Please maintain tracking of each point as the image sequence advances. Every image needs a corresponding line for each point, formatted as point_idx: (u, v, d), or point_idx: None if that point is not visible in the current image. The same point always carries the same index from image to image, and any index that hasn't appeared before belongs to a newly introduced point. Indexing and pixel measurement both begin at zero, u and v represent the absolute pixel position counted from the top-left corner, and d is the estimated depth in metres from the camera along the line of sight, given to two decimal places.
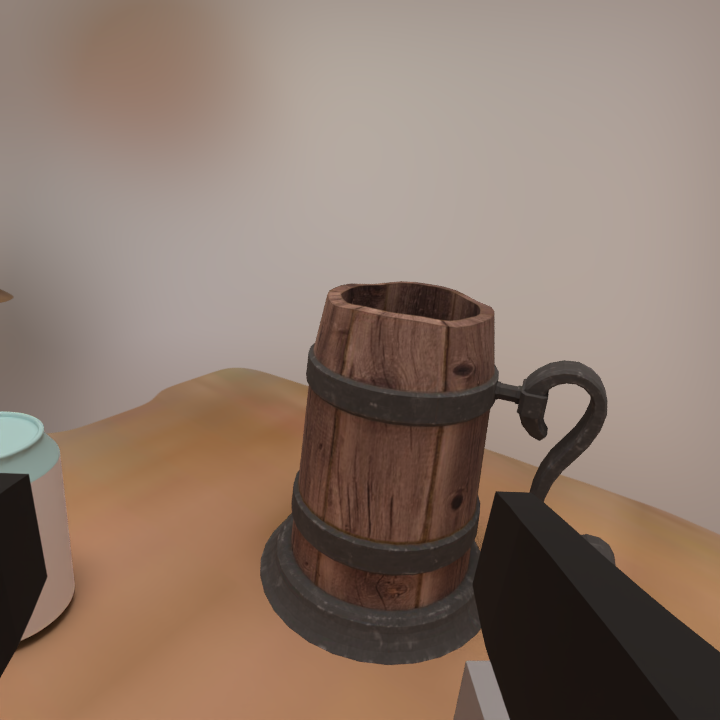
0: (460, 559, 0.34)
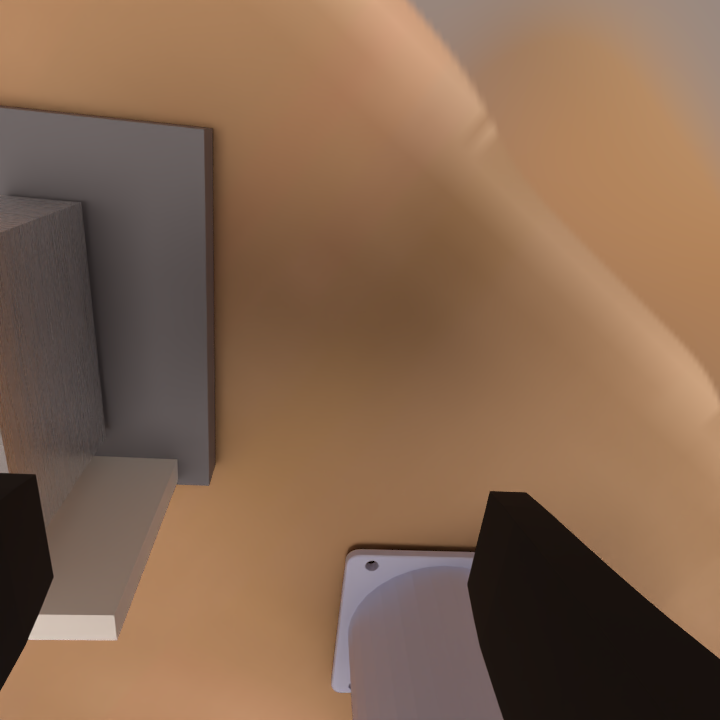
0: None
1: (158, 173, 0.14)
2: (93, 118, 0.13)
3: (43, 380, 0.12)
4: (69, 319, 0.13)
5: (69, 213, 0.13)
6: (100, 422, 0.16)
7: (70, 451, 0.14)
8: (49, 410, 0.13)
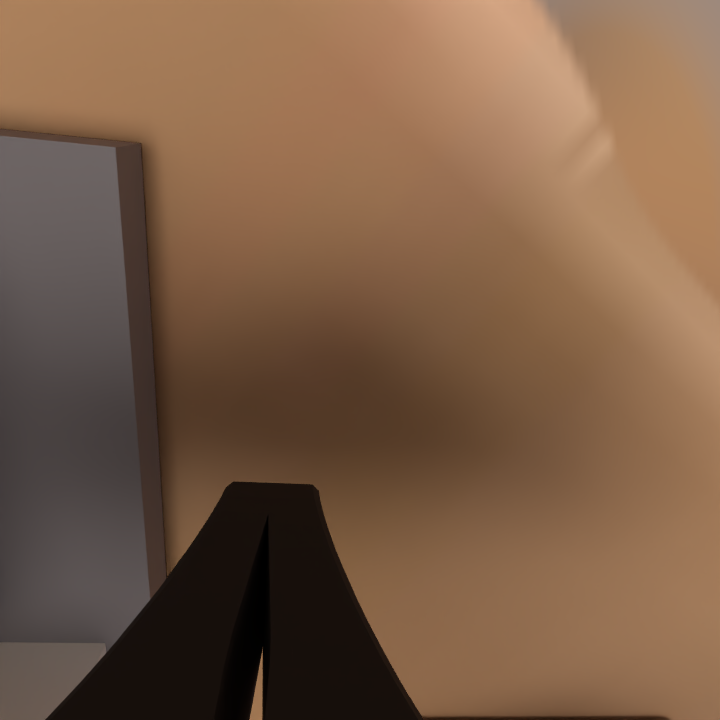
0: None
1: (39, 223, 0.08)
2: None
3: None
4: None
5: None
6: None
7: None
8: None
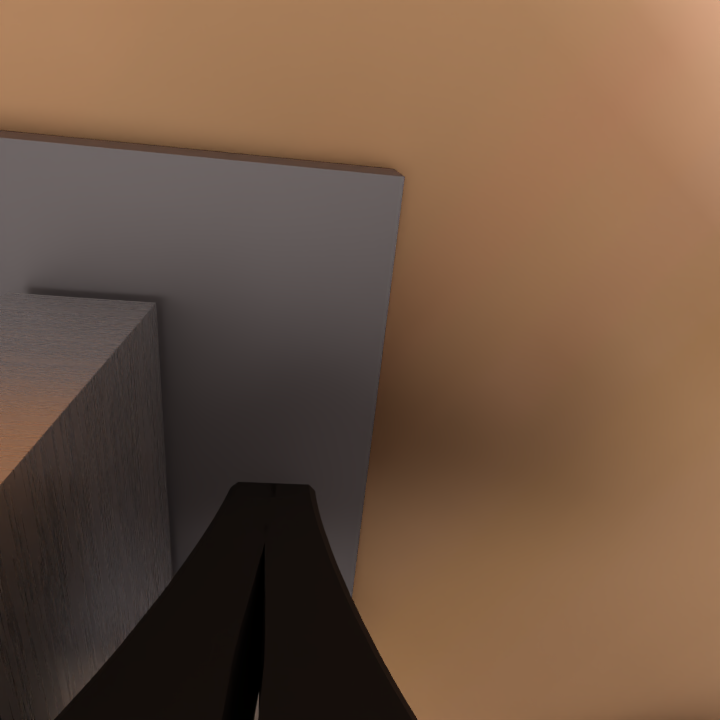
0: None
1: (317, 251, 0.08)
2: (213, 159, 0.07)
3: None
4: (138, 515, 0.08)
5: (141, 331, 0.07)
6: None
7: None
8: None
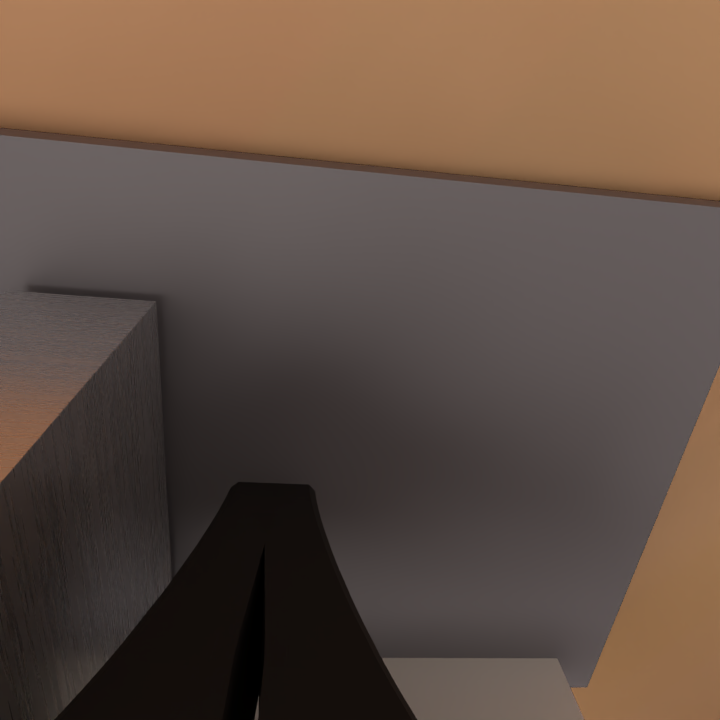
0: None
1: (685, 281, 0.09)
2: (616, 198, 0.08)
3: (100, 666, 0.06)
4: (137, 514, 0.07)
5: (141, 330, 0.07)
6: None
7: None
8: None
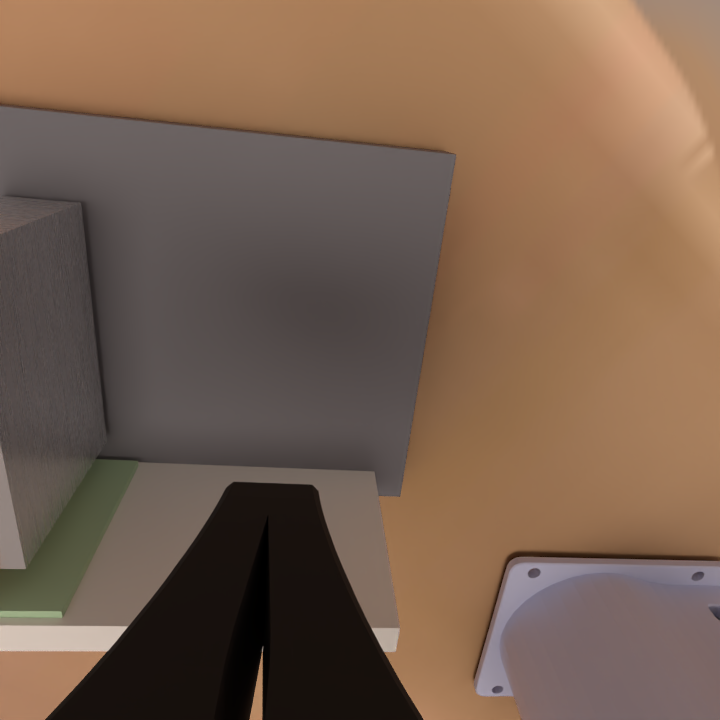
0: None
1: (405, 196, 0.14)
2: (353, 144, 0.14)
3: (43, 385, 0.12)
4: (69, 322, 0.13)
5: (69, 214, 0.13)
6: (101, 426, 0.16)
7: (71, 457, 0.14)
8: (49, 416, 0.12)
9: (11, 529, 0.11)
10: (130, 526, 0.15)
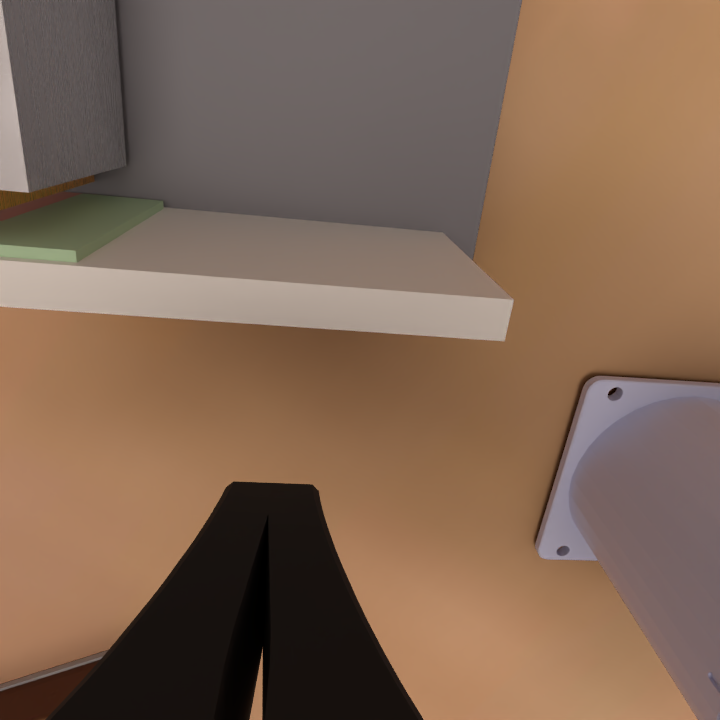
0: None
1: None
2: None
3: None
4: None
5: None
6: (121, 137, 0.13)
7: (85, 121, 0.11)
8: (59, 20, 0.10)
9: (10, 118, 0.08)
10: (158, 230, 0.12)
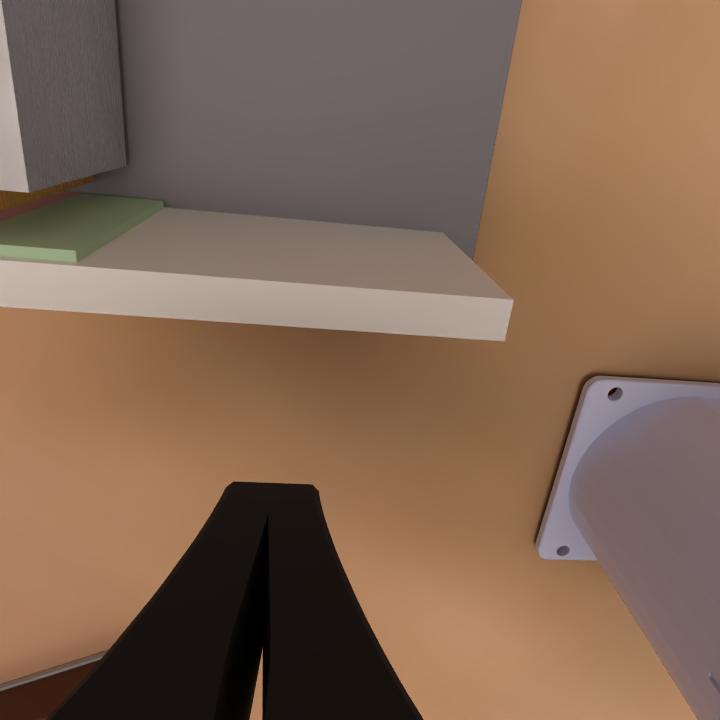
0: None
1: None
2: None
3: None
4: None
5: None
6: (121, 137, 0.13)
7: (85, 121, 0.11)
8: (59, 20, 0.10)
9: (10, 118, 0.08)
10: (158, 230, 0.12)
